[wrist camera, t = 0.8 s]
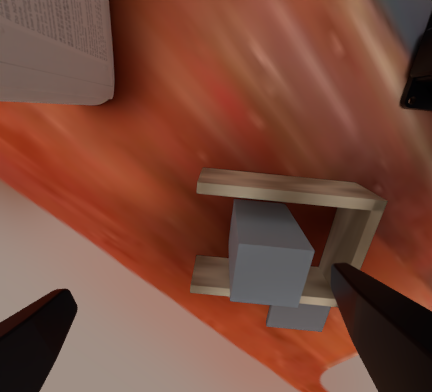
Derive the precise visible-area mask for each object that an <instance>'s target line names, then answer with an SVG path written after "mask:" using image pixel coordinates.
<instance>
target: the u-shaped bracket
mask: <svg viewBox="0 0 432 392" xmlns="http://www.w3.org/2000/svg"><path fill="white" fill-rule="evenodd" d="M197 193H198V194H208V195H219V196H229V197H239V198H249V199H259V200H269V201H280V202H290V203H300V204H310V205H320V206H330V207H338V208H337V211H336V214H335V217H334V220H333V223H332V227H331V230H330V233H329V236H328V239H327V242H326V245H325V249H324V252H323V255H322V258H321V261H320V264H319V267H313V266H310V269H309V272H308V275H307V279H306V282H305V285H304V289H303V292H302V295H301V299H300V302H299V303H301V304H311V305H321V306H331V307H338V305H337V303H336V300H335V298H334V295H333V293H332V290H331V284H330V281H331V265H332V264H333V263H340V262H346V263H348V264H350V265H352V266H354V267H355V268H357V269H359V270H360V268H361V266H362V263H363V261H364V258H365V256H366V253H367V251H368V249H369V246H370V244H371V241H372V239H373V236H374V234H375V231H376V229H377V226H378V224H379V221H380V219H381V216H382V214H383V211H384V209H385V206H386V204H387V200H385V199H383V198H382V197H380V196H378V195H376V194H375V193H373V192H371V191H369V190H368V189H366V188H364V187H362V186H361V185H359V184H357V183H355V182H345V181H335V180H325V179H314V178H304V177H294V176H284V175H274V174H264V173H253V172H243V171H233V170H223V169H213V168H202V171H201V173H200V176H199V179H198V181H197ZM190 293H200V294H210V295H220V296H230V280H229V258H221V257H211V256H201V255H196V260H195V265H194V270H193V276H192V281H191V288H190Z"/></svg>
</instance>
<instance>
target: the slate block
mask: <svg viewBox="0 0 432 392" xmlns="http://www.w3.org/2000/svg"><path fill="white" fill-rule="evenodd" d="M228 244H229V280H230V301H234V302H244V303H254V304H264V305H274V306H284V307H294V308H298V305H299V302H300V299H301V295H302V292H303V289H304V285H305V282H306V279H307V275H308V272H309V269H310V265H311V262H312V259H313V255H314V252H315V250H314V249H313V247H312V246H311V244H310V242H309V241H308V239H307V238H306V236H305V235H304V233H303V231H302V230H301V228H300V227H299V225H298V223H297V222H296V220H295V219H294V217H293V216H292V214H291V212H290V211H289V209H288V208H287V206H286V204H281V203H271V202H261V201H250V200H240V199H234V204H233V212H232V219H231V227H230V235H229V242H228Z"/></svg>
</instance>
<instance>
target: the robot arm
mask: <svg viewBox="0 0 432 392" xmlns="http://www.w3.org/2000/svg"><path fill="white" fill-rule="evenodd" d="M410 98H412V101H411V103H410V104H409V103H408V101H409V99H410ZM401 106H402V107H403V108H408V109H418V110H428V111H432V16H431V19H430V22H429V24H428V27H427V30H426V32H425V33H424V36H423V39H422V41H421V44H420V47H419V50H418V53H417V55H416V58H415V61H414V64H413V66H412V69H411V72H410V77H409V80H408V83H407V85H406V88H405V91H404V94H403V96H402V99H401ZM330 284H331V290H332V293H333V295H334V298H335V300H336V303H337V305H338V307H339V310H340V312H341V315H342V317H343V320H344V322H345V325H346V327H347V330H348V332H349V335H350V337H351V339H352V342H353V344H354V346H355V348H356V350H357V352H358V354H359V356H360V358H361V359H362V361H363V363H364V365H365V367H366V369H367V371H368V373H369V375H370V377H371V378H372V380H373V382H374V384H375V386H376V388H377V390H378V392H432V311H430V310H428V309H427V308H425V307H423V306H421V305H420V304H418V303H416V302H414V301H413V300H411V299H409V298H407V297H406V296H404V295H402V294H401V293H399V292H397V291H395V290H394V289H392V288H390V287H388V286H387V285H385V284H383V283H381V282H380V281H378V280H376V279H374V278H373V277H371V276H369V275H368V274H366V273H364V272H362V271H361V270H359V269H357V268H355V267H354V266H352V265H350V264H348V263H346V262H340V263H333V264H332V265H331V281H330ZM76 313H77V304H76V302H75V300H74V298H73V296H72V294H71V292H70V291H69V290H68V289H57V290H54V291H52V292H50V293H49V294H47V295H45V296H44V297H42V298H40V299H39V300H37V301H35V302H34V303H32V304H30V305H29V306H27V307H25V308H24V309H22V310H20V311H19V312H17V313H15V314H14V315H12V316H10V317H9V318H7V319H5V320H4V321H2V322H0V392H39V391H40V389H41V387H42V386H43V384H44V382H45V380H46V378H47V376H48V374H49V372H50V370H51V368H52V367H53V365H54V363H55V361H56V359H57V357H58V354H59V352H60V350H61V348H62V345H63V343H64V341H65V338H66V336H67V334H68V332H69V329H70V327H71V325H72V322H73V320H74V318H75V315H76Z"/></svg>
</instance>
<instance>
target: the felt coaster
mask: <svg viewBox="0 0 432 392" xmlns="http://www.w3.org/2000/svg"><path fill="white" fill-rule="evenodd" d="M330 308H331V306H321V305H311V304H301V303H299V305H298V308H294V307H284V306H274V305H270V307H269V311H268V315H267V320H266V326H268V327H278V328H288V329H298V330H308V331H318V332H322V329H323V327H324V324H325V321H326V319H327V316H328V313H329V311H330Z"/></svg>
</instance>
